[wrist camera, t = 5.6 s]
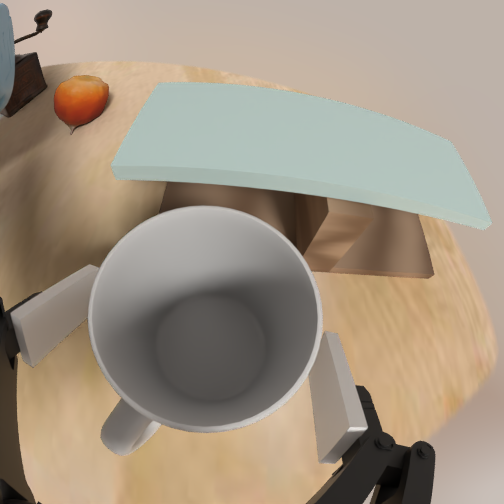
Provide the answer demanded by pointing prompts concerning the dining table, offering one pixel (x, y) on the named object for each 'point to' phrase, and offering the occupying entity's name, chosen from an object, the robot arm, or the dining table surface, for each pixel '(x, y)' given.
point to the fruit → (80, 100)
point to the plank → (296, 150)
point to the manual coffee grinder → (27, 72)
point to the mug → (201, 324)
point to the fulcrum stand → (323, 227)
